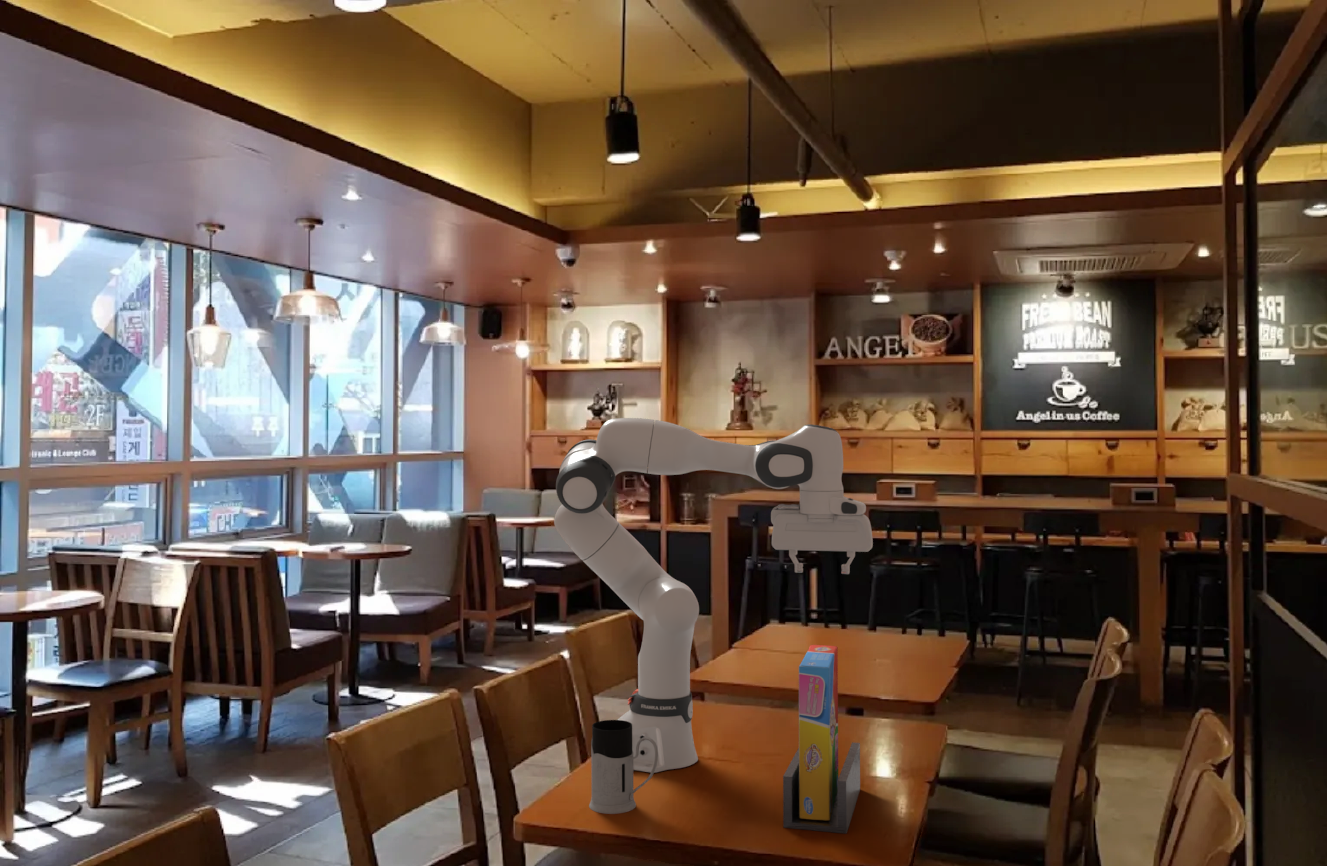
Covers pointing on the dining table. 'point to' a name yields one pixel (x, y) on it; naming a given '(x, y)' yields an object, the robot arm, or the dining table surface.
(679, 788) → the dining table surface
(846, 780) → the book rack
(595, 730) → the glass holder
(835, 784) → the game box
